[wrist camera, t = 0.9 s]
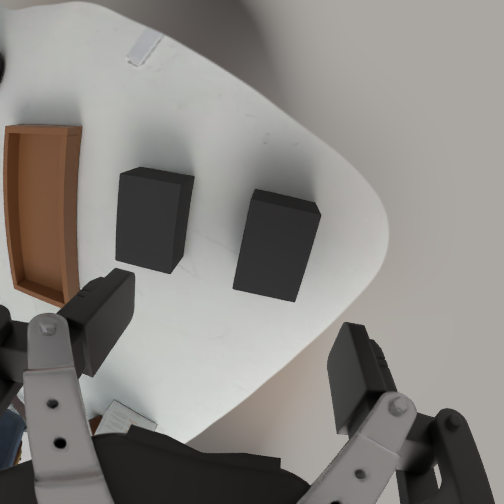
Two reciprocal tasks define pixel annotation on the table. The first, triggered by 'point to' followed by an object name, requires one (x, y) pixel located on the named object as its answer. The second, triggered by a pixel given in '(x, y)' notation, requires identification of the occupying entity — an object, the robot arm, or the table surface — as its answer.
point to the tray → (42, 209)
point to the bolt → (94, 423)
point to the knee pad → (12, 434)
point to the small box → (122, 420)
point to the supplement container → (1, 67)
